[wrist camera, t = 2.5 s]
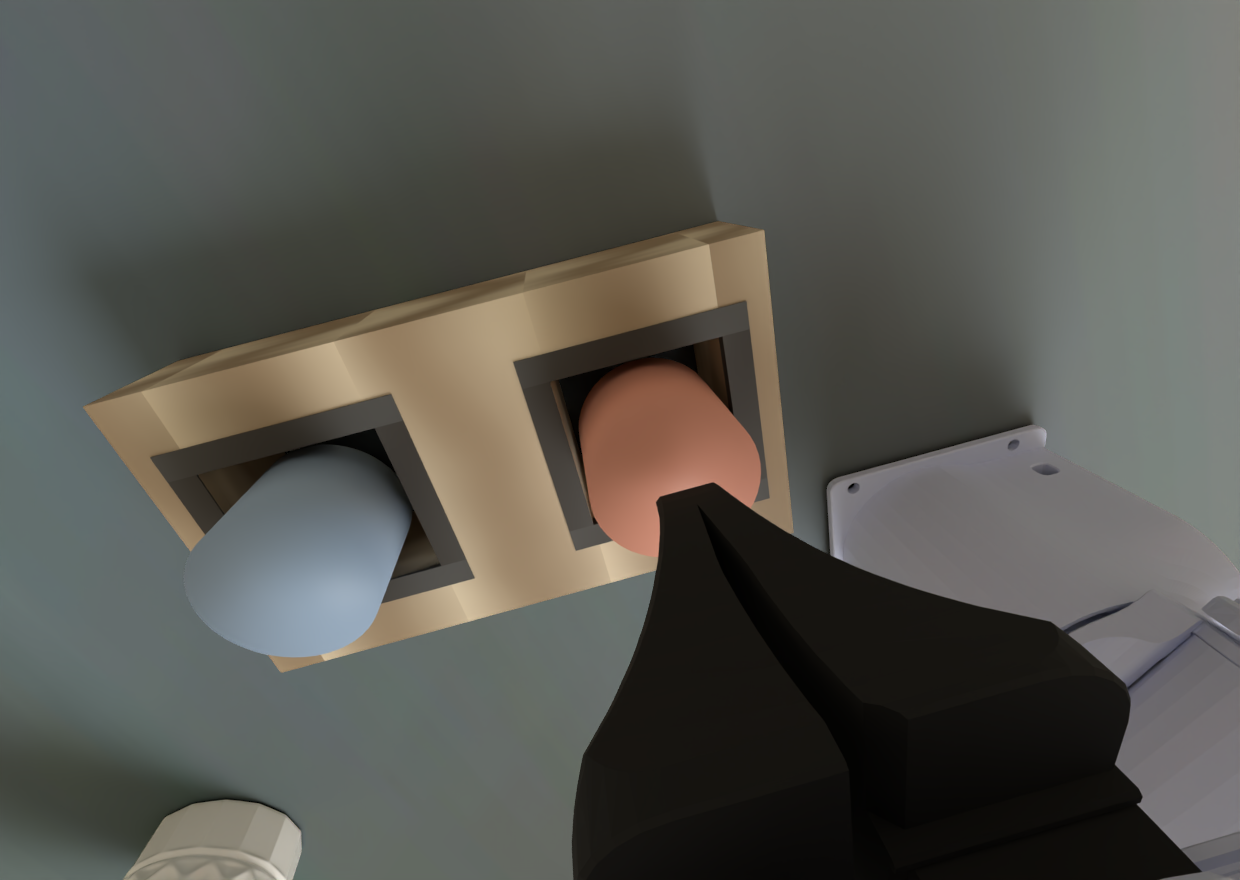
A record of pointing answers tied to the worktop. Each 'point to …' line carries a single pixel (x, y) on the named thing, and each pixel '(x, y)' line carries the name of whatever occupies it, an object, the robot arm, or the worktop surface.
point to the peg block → (468, 416)
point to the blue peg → (302, 554)
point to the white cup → (221, 844)
